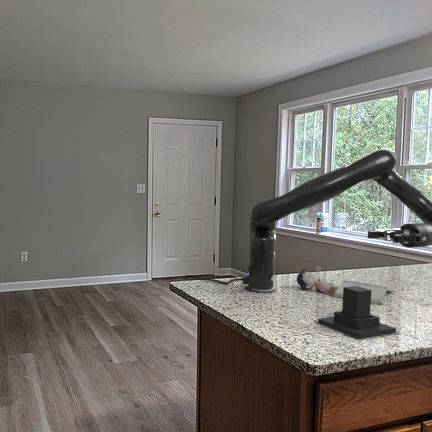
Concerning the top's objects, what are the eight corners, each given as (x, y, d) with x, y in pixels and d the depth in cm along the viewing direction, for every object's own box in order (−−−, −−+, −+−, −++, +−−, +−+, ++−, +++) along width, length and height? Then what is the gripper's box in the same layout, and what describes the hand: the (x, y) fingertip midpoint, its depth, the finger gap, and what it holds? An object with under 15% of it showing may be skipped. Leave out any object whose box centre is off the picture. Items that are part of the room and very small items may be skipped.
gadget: (379, 304, 146) (380, 293, 146) (333, 296, 155) (333, 286, 155) (392, 291, 164) (393, 281, 163) (349, 284, 173) (350, 275, 173)
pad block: (355, 327, 119) (357, 291, 118) (341, 321, 123) (343, 287, 122) (369, 325, 120) (371, 290, 120) (354, 319, 125) (356, 285, 124)
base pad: (358, 339, 113) (359, 325, 113) (317, 322, 126) (318, 310, 126) (395, 332, 119) (396, 319, 118) (353, 317, 132) (353, 305, 131)
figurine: (329, 293, 154) (291, 277, 164) (329, 306, 157) (291, 289, 167) (342, 277, 159) (304, 262, 169) (341, 290, 162) (304, 275, 172)
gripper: (397, 220, 142) (361, 221, 135) (442, 225, 129) (404, 226, 122) (395, 243, 142) (360, 245, 136) (440, 250, 129) (402, 253, 123)
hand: (381, 236), depth 129 cm, fingers open, 8 cm apart
